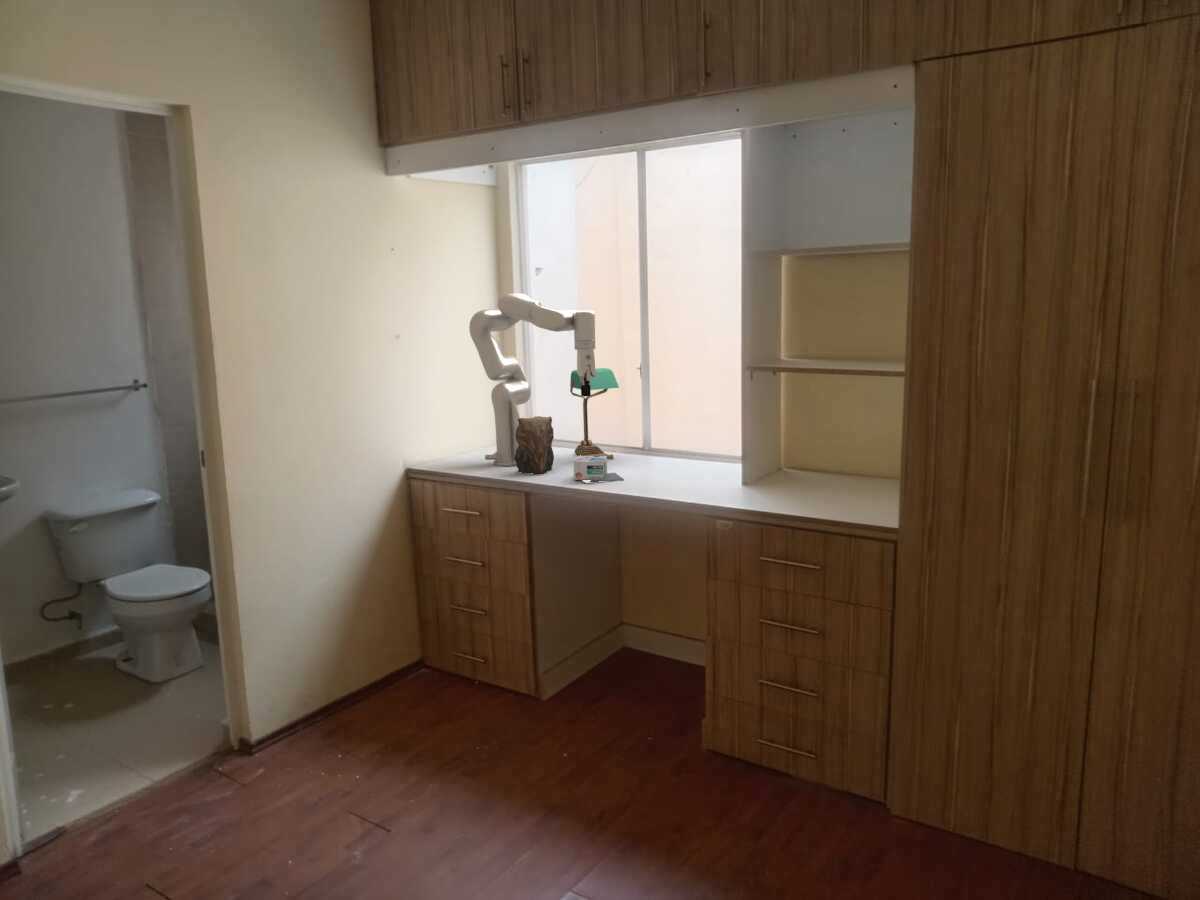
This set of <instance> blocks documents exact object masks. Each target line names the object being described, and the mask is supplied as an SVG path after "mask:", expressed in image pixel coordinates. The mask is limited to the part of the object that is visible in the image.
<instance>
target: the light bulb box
mask: <svg viewBox="0 0 1200 900" xmlns="http://www.w3.org/2000/svg"><path fill="white" fill-rule="evenodd" d="M607 473H608V460H607V456H579V455H577V458H575V460H573V479H574V480H577V481H581V480H603V479H604V478H605V476H606V474H607Z"/></svg>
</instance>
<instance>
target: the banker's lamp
mask: <svg viewBox="0 0 1200 900" xmlns="http://www.w3.org/2000/svg"><path fill="white" fill-rule="evenodd" d="M595 373H596V375H595V377H592V376H590V388H591V391H595V390H597V391H596V392H594V393H592V394H591V396H581V394H578V393H575V392H573V390H574V389H577V390H581V376H579V375H578V373H577V369H573V370H572V371H571V373H570V385H569V386H570V393H571V395H572V396H574V397H578V398H582V399H583V401H582V410H583V411H582V413H583V414H582V415H583V440H580V444H578V445H577V446H576V448H575V449H574V454H575V453H576V454H578V455H577V456H579V455H581V456H607V459H611V460H614V454H608V453H606V452H604V451H603V450H602V449H601V448H600V447H599V446H598V445H595V444H593V442H592V439H589V429H588V428H589V422H588V421H589V420H588V419H589V418H588V400H589V399H591V398H593V397H597V396H599V395H601V394H605V393H607V392H608V389H618V388H620V386H619V384H618V381H617V379H616V376H615V373H614V372H613V370H612V369H611V368H607V367H599V368H596V367H595ZM598 390H600V391H598ZM576 454H575V455H576Z"/></svg>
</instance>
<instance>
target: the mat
mask: <svg viewBox="0 0 1200 900" xmlns="http://www.w3.org/2000/svg"><path fill="white" fill-rule="evenodd" d="M615 480H621V481H624V480H625V479H624V478H623V477H622V476H620V475H619V474H617V473H616V472H607V474H606V476H605V478H604V479H603V480H591V481H590V482H598V483H600V482H599V481H610V482H616V481H615Z"/></svg>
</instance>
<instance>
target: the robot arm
mask: <svg viewBox="0 0 1200 900" xmlns="http://www.w3.org/2000/svg"><path fill="white" fill-rule="evenodd" d="M497 307H498V308H494V309H493V308H492V309H491V308H490V309H489V308H488V309H482V310H479V311H477V312H476V313H474V314H473V316H472V317H471V319H470V322H469V328H468V329H469V334H470V337H471V340H472V342H473V344H474V346H475V349H476V350H477V353H478V355H479V358H480V362H481V364H482V366H483V370H484V371H485V375H486V376H487V377H488V379H489V380H490V381H493V382H495V381H496V382H497V381H504V382H500V383H498V384H496V385H495V386H494V387H493V388H492V390H491V398H490V399H491V402H492V406H493V407H492V408H493V413H494V424H495V441H496V444H495V445H496V451H495V452H494V453H493V454H485V455H484V459H485V460H487V461H492V460H493V465H494V464H495V465H494V466H499V467H513V466H517V464H516V461H515V460H514V457H515V454H516V449H517V448H518V446H519V444H518V442H517V441H516V440H515V439H516V437H515V434H516V429H517V427H518V425H519V422H518V418H521V417H520V412H519V411H518V409H517V406H519V405H524V404H526V403H527V402H529V400H530V398H531V395H532V391H531V386H530V383H529V381H528V378H527V375H526V373H525V370H524V368H523V365H522V363H521V361H520V359H518V358H517V357H516V356H515V355H512V354H504V353H503V352H502V349H501V347H500V344H499V342H498V340H497V339H496V338H495V337H494V336H493V335H492V332H503V331H506V330H509V329H510V328H512V327H513V326H515V325H516V324H517V323H519V322H520V321H523V322H527V323H531V324H532V325H533V326H535V327H537V328H540V329H543V330H548V331H550V332H559V333H560V332H567V331H568V332H569V331H571V332H572V331H573V335H574V336H573V338H574V339H573V340H574V345H573V346H574V350H575V351H576V370H577V373H578V375H579V376H581V389H580V395H581V396H583V397H587V396H591V395H592V394H591V391H592V390H591V388H590V376H592V377H595V375H596V373H595V368H596V360H595V357H596V356H595V351H594V350H596V315H595V312H594V311H593V310H575V309H557V310H556V309H551V308H547V307H544V306H543V305H542V303H541V302H540V301H539V300H537V299H533V298H530V296H528V295H526V294H525V293H522V292H521V293H519V292H518V293H506V294H504V295H502V296H501V297H500V298H499V299H498V302H497Z"/></svg>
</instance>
